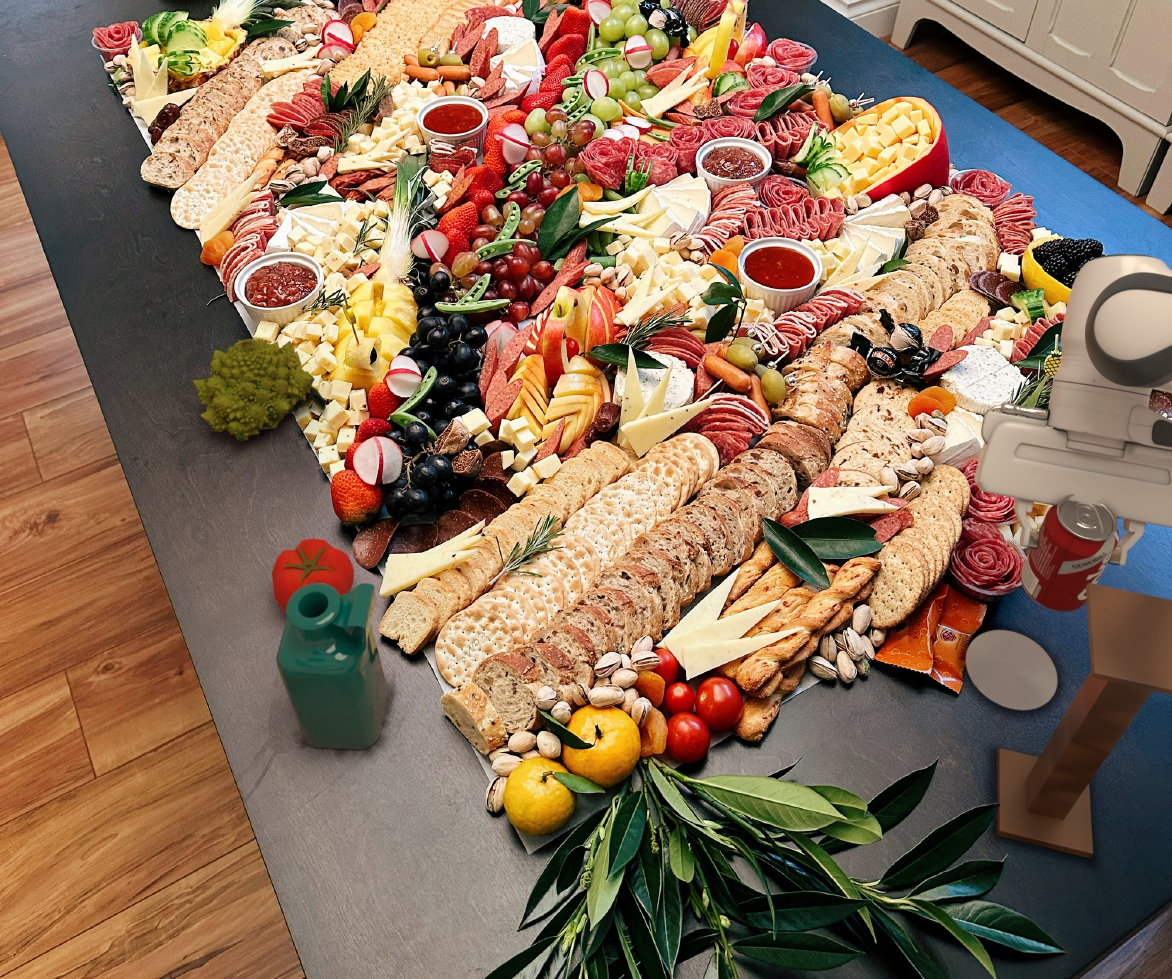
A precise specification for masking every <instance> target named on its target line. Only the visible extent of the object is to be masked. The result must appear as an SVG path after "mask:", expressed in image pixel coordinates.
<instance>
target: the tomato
mask: <svg viewBox="0 0 1172 979" xmlns="http://www.w3.org/2000/svg"><path fill="white" fill-rule="evenodd" d="M354 578H355V569H354V566H353V564H352V561H351V559H350V557H349V555H348V553H346V552H345V551H343V550H341V549H338V548H336V547H333V546H332V545H331V544H330V543H329V542H328V541H327V540H326V539H321V538H315V537H313V538H308V539H302V540H301V541H300V542H299V544H298V545H295V548H294V549H284V550H282V551H281V552H280V554H279V555H278V556H277V557H276V560H275V562H274V565H273V568H272V571H271V579H272V587H273V596H274V600H275V602H276V603H277V605H278V606H279V607H280V608H281V610H282V611H283V612H284V613H285V614H286V611H285V610H286V607H287V603H288V600H289V599H290V597H291V596H292V595H293V593H294V592H295V591H297V590H298V589H300V588H301V587H303V586H305V585H309V584H312V583H325V584H327V585H330V586H332V587H334V588H335V589H336V590H337V592H338V593H339V594H340V596H341V595H344V594H346V593H349V592H350V591H351V589H352V587H353V584H354Z"/></svg>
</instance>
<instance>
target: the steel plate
mask: <svg viewBox="0 0 1172 979" xmlns="http://www.w3.org/2000/svg"><path fill="white" fill-rule="evenodd" d="M964 662H965V664H964V666H965V670H966V673H967V676H968V678H969V680H970V682H971V683H972V686H974V688H975V689H976V691H978V693H979V694H981V696H982V697H984V698H985V699H986V700H988V701H990V702H991V703H992V704H994V705H996V706H998V707H1001V708H1003V709H1005V710H1009V711H1015V712H1030V711H1031V712H1032V711H1035V710H1038V709H1041V708H1043V707H1045V706H1046V705H1047V704H1048V703H1049V702H1050V701H1051V700H1052V698H1053V697H1054V695H1055V693H1056V691H1057V688H1058V682H1059V681H1058V672H1057V669H1056V666H1055V663H1054V662H1053V660H1052V658H1051V657H1050V655H1049V654H1048V653H1047V651H1045V649H1044V648H1043V647H1042V646H1041V645H1040V644H1038V643H1037V642H1036V641H1035V640H1033V639H1032V638H1029V637H1028V636H1026V635H1024V634H1022V633H1019V632H1017V631H1012V630H1006V629H993V630H988V631H985V632H983V633H981V634H979V635H978V636H976V637H975V638H974V639H973V640H972V641H971V642H970V644H969V646H968V647H967V649H966V653H965V658H964Z"/></svg>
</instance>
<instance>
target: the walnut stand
mask: <svg viewBox="0 0 1172 979" xmlns="http://www.w3.org/2000/svg"><path fill="white" fill-rule="evenodd" d="M1086 598H1087V602H1086V611H1087V627H1088V641H1089V656H1090V671H1089V673H1088V675H1087V677H1086V678H1085V679H1084V681H1083V683H1082V684H1081V686H1080V688H1079V689H1078V691H1077V693H1076V695H1075V696H1074V698H1073V700H1072V701H1071V703H1070V705H1069V707H1068V708H1067V710H1066V712H1065V713H1064V715H1063V717H1062V718H1061V719H1060V722H1059V723H1058V724H1057V726H1056V728H1055V730H1054V731H1053V733H1052V734H1051V737H1050V738H1049V740H1048V741H1047V743H1046V745H1045V746H1044V748H1043V749H1042V752H1041V753H1040V754H1039V756H1035V755H1030V754H1026V753H1022V752H1019V751H1013V750H1009V749H1005V748H1001V747H999V749H998V750H997V752H996V804H997V803H998V804H1000V807H998V811H997V810H996V836H999V837H1001V838H1007V839H1010V840H1013V841H1014V840H1015V841H1017V842H1018V841H1019V842H1021V843H1026V844H1030V845H1035V846H1038V847H1043V848H1046V849H1050V850H1054V851H1058V852H1061V853H1062V852H1063V853H1065V854H1070V855H1074V856H1079V857H1082V858H1085V859H1086V858H1087V859H1091V858H1092V856H1093V855H1094V843H1093V842H1094V841H1093V827H1092V826H1093V825H1092V824H1093V823H1092V810H1091V809H1092V808H1091V807H1092V806H1091V791H1090V782H1091V781H1092V780H1093V779H1094V777H1095V775H1096V774H1097V772H1098V771H1099V769H1100V768H1101V766H1102V765H1103V764H1104V762H1105V761H1106V759H1107V758H1108V757H1109V755H1110V754H1111V752H1112V751H1113V750H1114V748H1115V747H1116V745H1117V743H1118V742H1119V741H1120V739H1121V737H1122V736H1123V735H1124V733H1125V732H1126V731H1127V729H1128V727H1129V726H1130V725H1131V723H1132V722H1133V720H1134V718H1135V717H1136V716H1137V714H1138V713H1139V711H1140V710H1141V708H1142V707H1143V705H1144V704H1145V702H1146V701H1147V700H1148V698H1149V697H1150V695H1151V694H1152V692H1155V693H1161V694H1165V695H1170V696H1172V599H1170V598H1165V597H1160V596H1155V595H1151V594H1146V593H1140V592H1136V591H1132V590H1127V589H1126V590H1125V589H1121V588H1116V587H1112V586H1106V585H1102V584H1098V583H1097V584H1092V583H1088V585H1087V587H1086Z"/></svg>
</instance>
